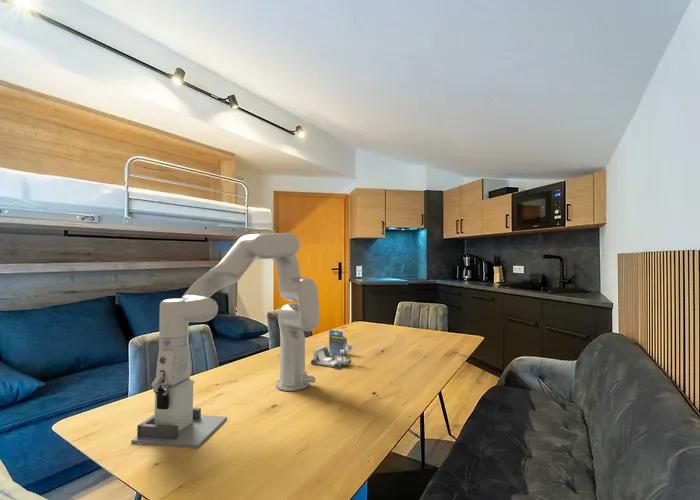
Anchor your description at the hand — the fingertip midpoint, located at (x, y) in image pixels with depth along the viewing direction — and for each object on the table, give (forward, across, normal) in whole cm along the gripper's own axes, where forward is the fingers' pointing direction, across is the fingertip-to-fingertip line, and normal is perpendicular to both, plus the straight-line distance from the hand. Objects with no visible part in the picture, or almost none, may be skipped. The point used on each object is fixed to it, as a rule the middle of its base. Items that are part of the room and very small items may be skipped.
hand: (173, 401), depth 100 cm
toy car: (+9, +66, -36) cm, 76 cm away
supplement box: (+7, 0, 0) cm, 7 cm away
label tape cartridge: (+9, +83, -35) cm, 91 cm away
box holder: (+8, 0, -3) cm, 9 cm away
